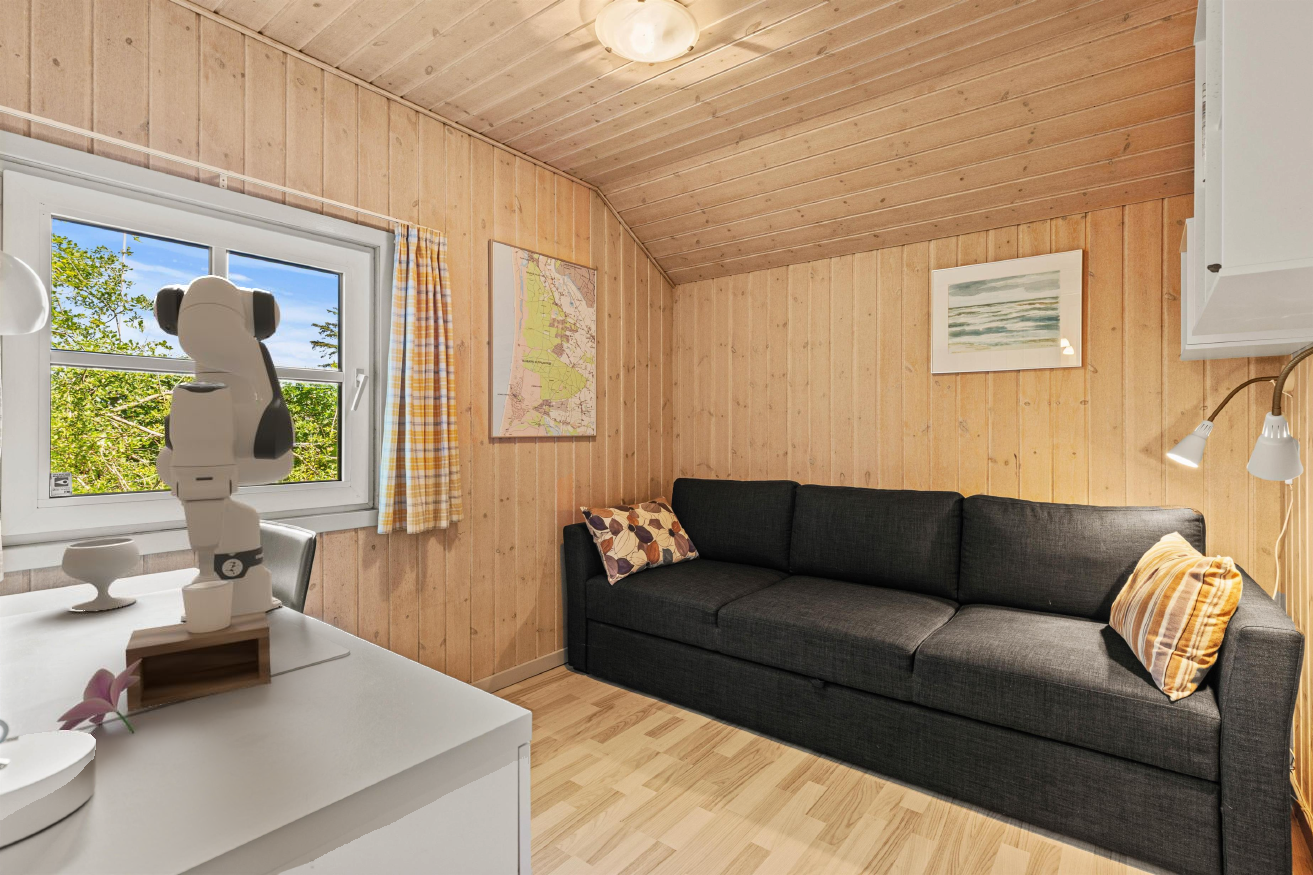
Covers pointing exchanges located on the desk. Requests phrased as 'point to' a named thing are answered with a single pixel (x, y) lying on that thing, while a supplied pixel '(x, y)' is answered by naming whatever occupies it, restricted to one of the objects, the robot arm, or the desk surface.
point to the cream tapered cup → (208, 605)
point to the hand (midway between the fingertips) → (207, 568)
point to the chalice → (101, 568)
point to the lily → (100, 698)
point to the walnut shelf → (197, 660)
